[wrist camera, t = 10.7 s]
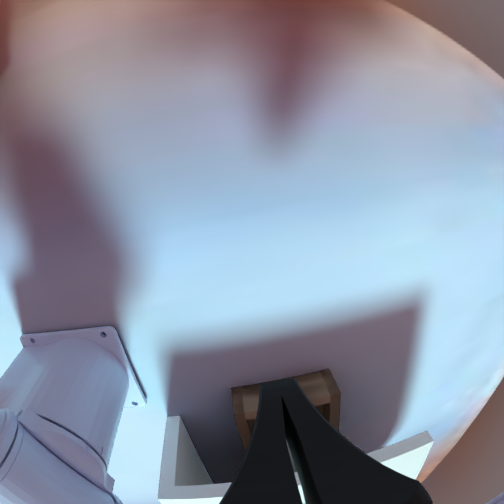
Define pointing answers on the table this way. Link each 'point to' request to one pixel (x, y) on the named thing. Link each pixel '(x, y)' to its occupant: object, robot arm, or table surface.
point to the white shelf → (209, 495)
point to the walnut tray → (313, 385)
